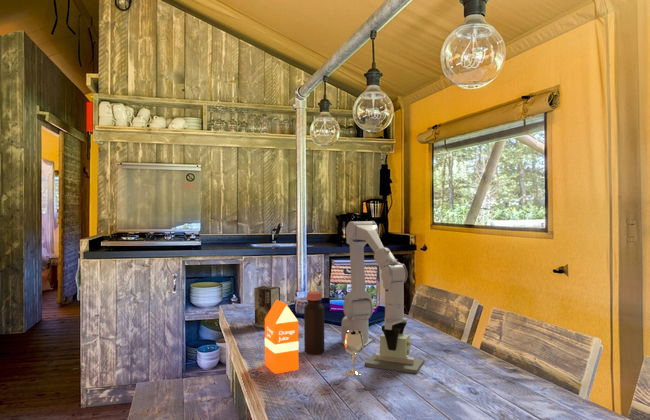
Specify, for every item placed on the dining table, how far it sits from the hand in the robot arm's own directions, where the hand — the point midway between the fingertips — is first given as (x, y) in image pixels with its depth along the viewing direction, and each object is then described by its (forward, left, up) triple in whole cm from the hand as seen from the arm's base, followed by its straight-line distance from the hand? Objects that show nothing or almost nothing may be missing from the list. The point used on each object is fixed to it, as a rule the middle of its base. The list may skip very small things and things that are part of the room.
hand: (394, 347), depth 137 cm
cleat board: (0, 0, -5) cm, 5 cm away
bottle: (-28, +1, -6) cm, 29 cm away
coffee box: (-60, +23, -6) cm, 64 cm away
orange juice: (-31, -16, -6) cm, 35 cm away
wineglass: (-9, -12, -6) cm, 16 cm away
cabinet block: (0, 0, -2) cm, 2 cm away
